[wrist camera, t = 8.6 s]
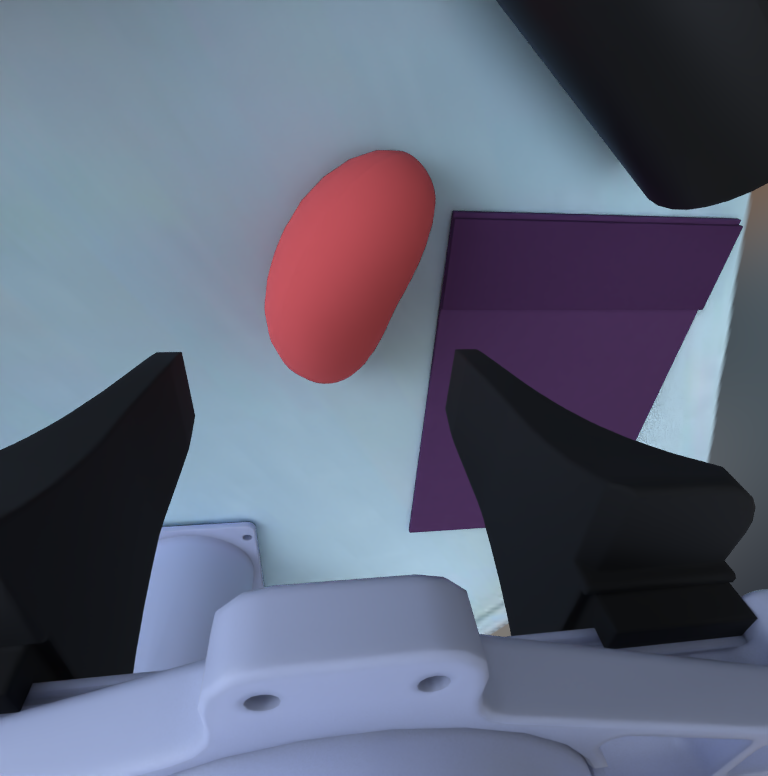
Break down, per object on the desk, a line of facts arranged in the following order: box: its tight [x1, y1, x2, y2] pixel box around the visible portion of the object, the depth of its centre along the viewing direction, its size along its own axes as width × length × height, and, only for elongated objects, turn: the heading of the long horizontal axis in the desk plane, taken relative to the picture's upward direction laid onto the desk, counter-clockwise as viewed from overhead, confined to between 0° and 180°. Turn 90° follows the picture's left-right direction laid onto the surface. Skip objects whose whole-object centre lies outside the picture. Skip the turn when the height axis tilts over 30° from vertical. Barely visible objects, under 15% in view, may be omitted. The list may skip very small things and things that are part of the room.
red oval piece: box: [265, 150, 436, 384], centre depth 18 cm, size 5×9×6 cm, turn 144°
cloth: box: [409, 211, 743, 533], centre depth 26 cm, size 20×13×1 cm, turn 177°
